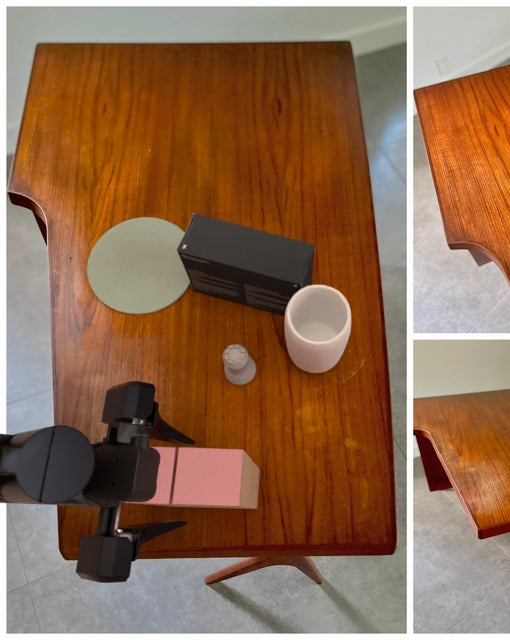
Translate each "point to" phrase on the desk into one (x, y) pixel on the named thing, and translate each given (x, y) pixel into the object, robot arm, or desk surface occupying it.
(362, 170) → the desk surface
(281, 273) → the box
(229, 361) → the rook chess piece
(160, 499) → the pink-topped tan pillar
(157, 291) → the plate
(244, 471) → the tall pink tan block
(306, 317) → the cup
